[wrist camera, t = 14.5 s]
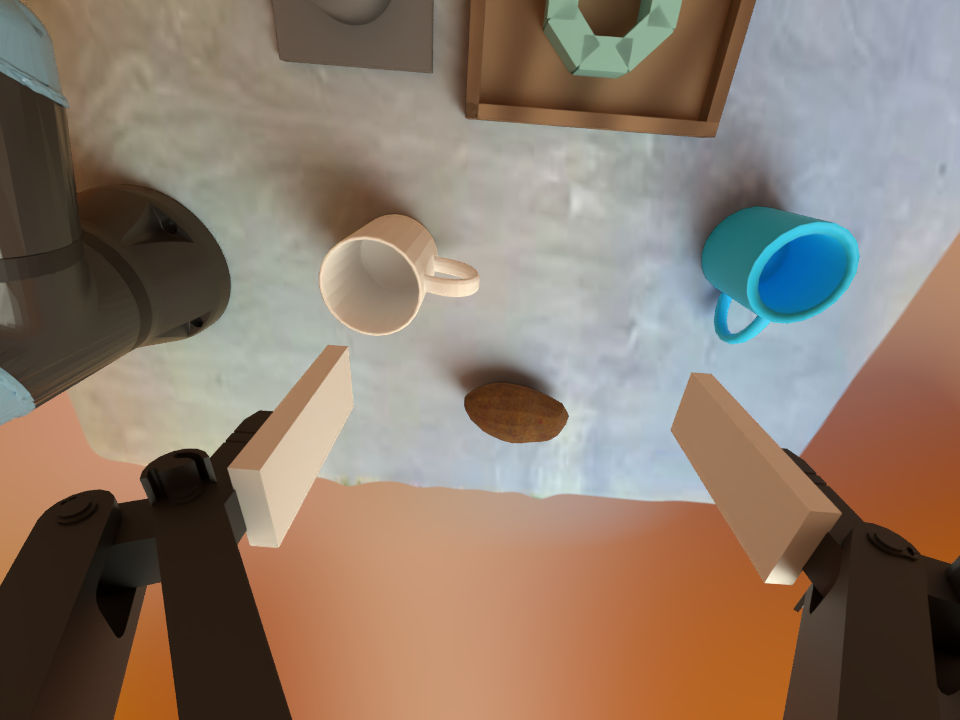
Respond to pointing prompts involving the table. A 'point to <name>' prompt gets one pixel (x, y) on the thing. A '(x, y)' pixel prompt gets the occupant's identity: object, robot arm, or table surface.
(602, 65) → the ring
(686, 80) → the tray
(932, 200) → the table surface
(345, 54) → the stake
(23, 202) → the robot arm
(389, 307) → the mug
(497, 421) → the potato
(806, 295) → the mug
